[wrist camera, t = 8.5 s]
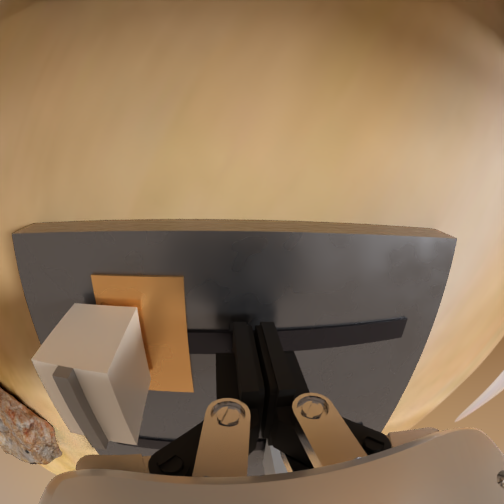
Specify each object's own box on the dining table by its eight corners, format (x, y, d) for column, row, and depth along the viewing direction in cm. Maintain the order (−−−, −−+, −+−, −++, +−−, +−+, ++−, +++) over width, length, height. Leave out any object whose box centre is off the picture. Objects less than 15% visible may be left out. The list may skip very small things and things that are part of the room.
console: (434, 228, 14) (459, 239, 12) (357, 442, 20) (364, 459, 18) (33, 223, 11) (9, 234, 9) (113, 451, 17) (109, 470, 15)
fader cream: (137, 306, 10) (102, 384, 6) (151, 378, 12) (135, 455, 8) (74, 303, 10) (24, 368, 6) (95, 372, 11) (67, 440, 7)
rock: (77, 440, 17) (-2, 376, 12) (61, 489, 12) (-30, 433, 7) (33, 421, 19) (-30, 363, 14) (18, 460, 14) (-52, 405, 9)
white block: (315, 428, 14) (336, 486, 10) (304, 457, 16) (319, 507, 11) (267, 434, 14) (280, 496, 10) (262, 462, 15) (272, 515, 11)
